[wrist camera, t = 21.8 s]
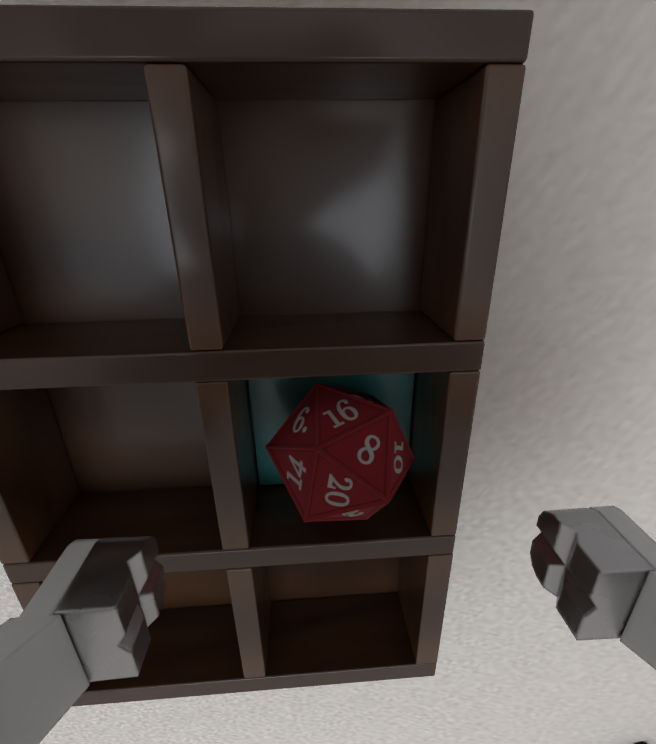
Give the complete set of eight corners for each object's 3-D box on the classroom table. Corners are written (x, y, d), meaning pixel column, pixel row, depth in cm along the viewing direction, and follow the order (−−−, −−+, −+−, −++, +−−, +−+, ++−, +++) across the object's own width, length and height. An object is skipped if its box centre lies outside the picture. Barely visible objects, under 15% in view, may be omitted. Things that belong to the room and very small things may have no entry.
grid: (-80, 67, 10) (-272, 0, 6) (462, 67, 10) (536, 8, 7) (111, 614, 17) (69, 707, 14) (411, 592, 18) (435, 676, 15)
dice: (274, 359, 12) (265, 426, 9) (411, 374, 13) (456, 443, 9) (265, 458, 14) (253, 551, 10) (388, 468, 14) (419, 559, 11)
